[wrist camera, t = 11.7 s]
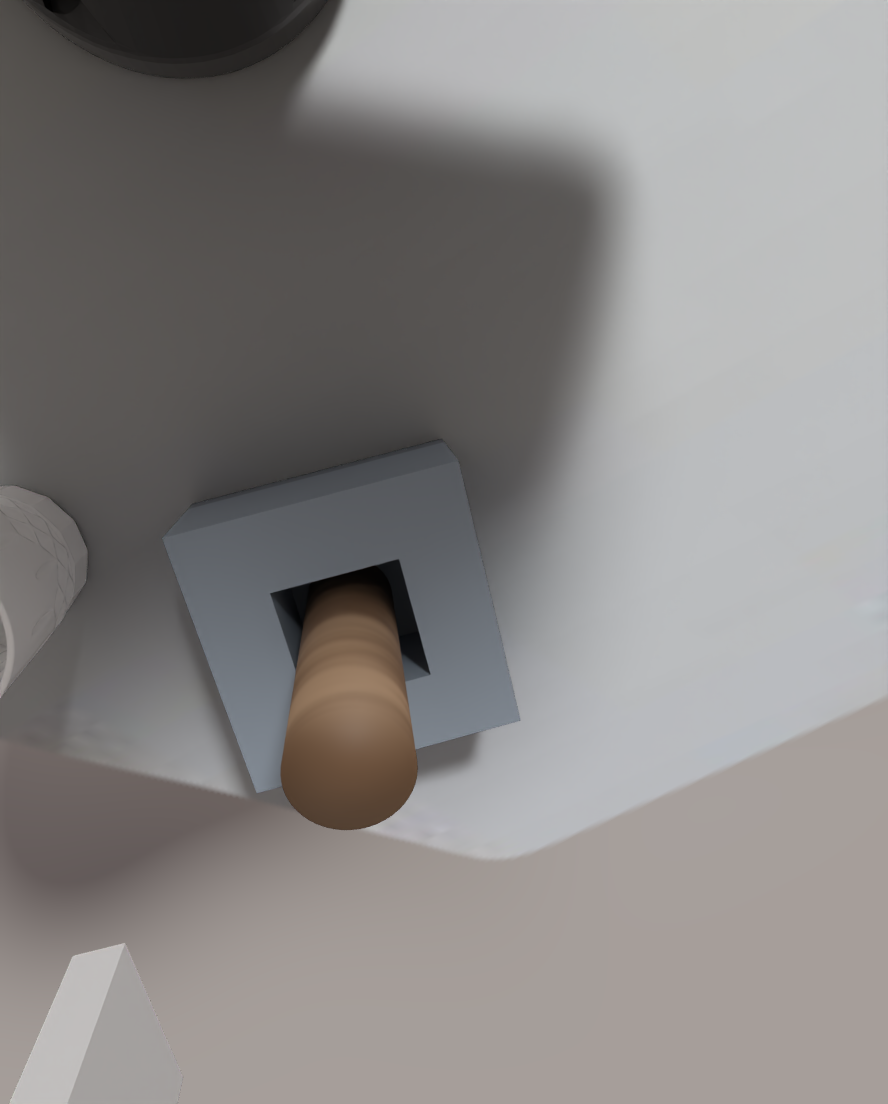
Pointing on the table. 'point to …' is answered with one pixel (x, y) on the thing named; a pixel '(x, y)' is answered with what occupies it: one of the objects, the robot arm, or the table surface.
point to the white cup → (34, 575)
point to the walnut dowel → (349, 707)
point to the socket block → (332, 549)
